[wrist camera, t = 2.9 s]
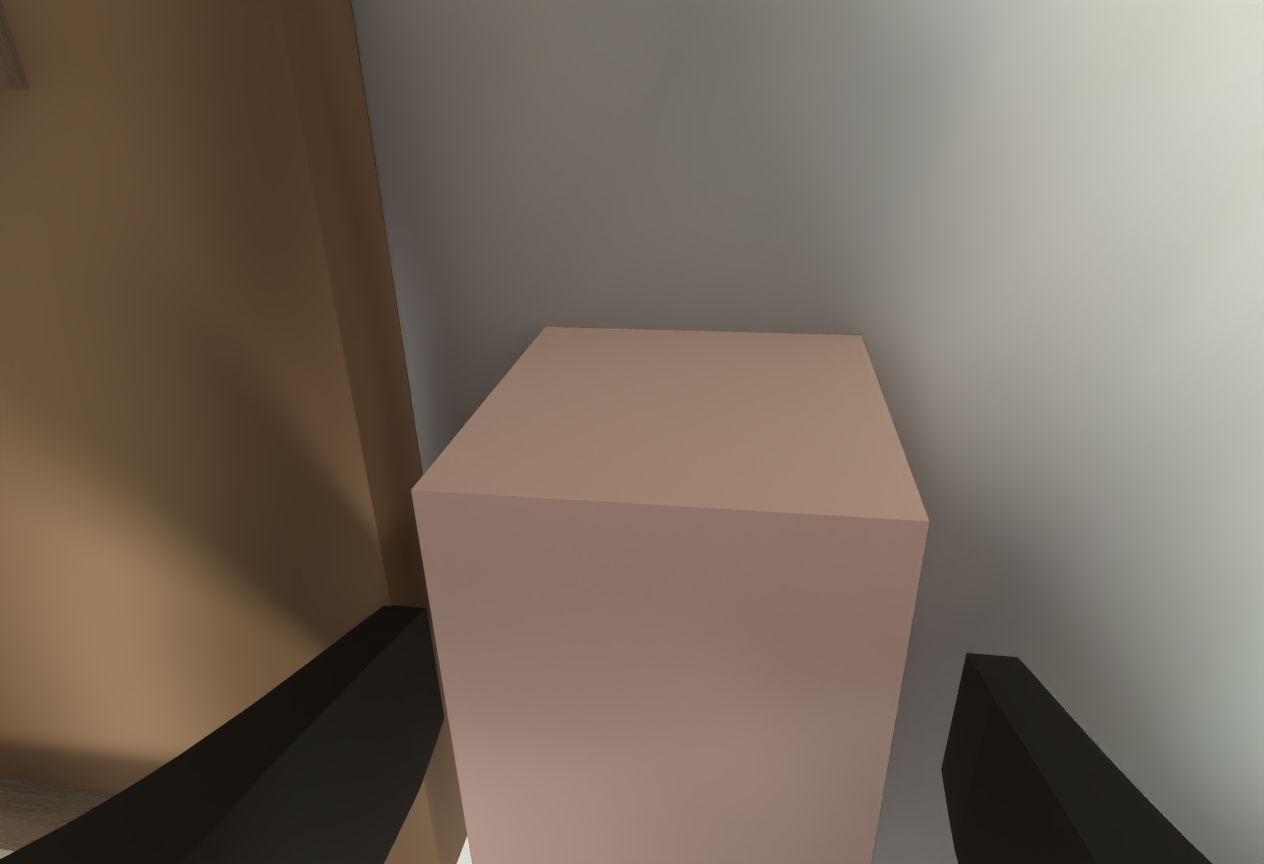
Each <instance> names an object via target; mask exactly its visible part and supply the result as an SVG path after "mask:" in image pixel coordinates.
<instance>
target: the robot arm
mask: <svg viewBox="0 0 1264 864" xmlns="http://www.w3.org/2000/svg"><path fill="white" fill-rule="evenodd" d="M444 718H445V717H444V711H443V705H442V699H441V693H440V687H439V681H438V675H437V668H436V662H435V656H434V650H433V644H432V638H431V632H430V626H429V620H428V613H427V608H421V607H409V606H397V605H392V606H383V607H381V608H380V609H379V610H377V611H376V612H374V613H373V614H371V615H370V616H369V617H367V618H366V619H365V620H363V621H362V622H361V623H359V624H358V625H357V626H355V627H354V628H353V629H351V630H350V631H349V632H348V633H346V634H345V635H344V636H342V637H341V638H340V639H338V640H337V641H336V642H335V643H333V644H332V645H331V646H329V647H328V648H327V649H325V650H324V651H323V652H322V653H320V654H319V655H318V656H316V657H315V658H314V659H312V660H311V661H310V662H308V663H307V664H306V665H304V666H303V667H302V668H300V669H299V670H298V671H296V672H295V673H294V674H292V675H291V676H290V677H288V678H287V679H286V680H284V681H283V682H282V683H280V684H279V685H278V686H276V687H275V688H274V689H272V690H271V691H270V692H268V693H267V694H266V695H264V696H263V697H262V698H260V699H259V700H258V701H256V702H255V703H254V704H252V705H251V706H249V707H248V708H246V709H245V710H244V711H242V712H241V713H239V714H238V715H236V716H235V717H233V718H232V719H230V720H229V721H228V722H226V723H225V724H223V725H222V726H220V727H219V728H217V729H216V730H215V731H213V732H212V733H210V734H209V735H207V736H206V737H204V738H203V739H202V740H200V741H199V742H197V743H196V744H194V745H193V746H191V747H190V748H189V749H187V750H186V751H184V752H183V753H181V754H180V755H178V756H177V757H175V758H174V759H172V760H171V761H169V762H168V763H166V764H165V765H163V766H162V767H160V768H158V769H157V770H155V771H154V772H152V773H151V774H149V775H147V776H146V777H144V778H143V779H141V780H139V781H138V782H136V783H135V784H133V785H131V786H130V787H128V788H126V789H125V790H123V791H121V792H120V793H118V794H116V795H115V796H113V797H111V798H110V799H108V800H106V801H105V802H103V803H101V804H99V805H98V806H96V807H94V808H93V809H91V810H89V811H88V812H86V813H84V814H83V815H81V816H79V817H77V818H76V819H74V820H72V821H70V822H69V823H67V824H65V825H63V826H62V827H60V828H58V829H56V830H54V831H52V832H50V833H48V834H46V835H45V836H43V837H41V838H39V839H37V840H35V841H33V842H31V843H29V844H28V845H26V846H24V847H22V848H20V849H18V850H16V851H14V852H13V853H11V854H9V855H7V856H5V857H3V858H1V859H0V864H384V863H385V861H386V859H387V857H388V855H389V853H390V850H391V848H392V846H393V844H394V842H395V840H396V838H397V836H398V834H399V832H400V830H401V828H402V826H403V824H404V821H405V819H406V817H407V815H408V813H409V811H410V809H411V807H412V805H413V803H414V801H415V798H416V796H417V794H418V792H419V790H420V788H421V785H422V782H423V779H424V776H425V774H426V771H427V768H428V765H429V763H430V760H431V757H432V754H433V751H434V748H435V745H436V742H437V739H438V736H439V733H440V730H441V727H442V724H443V721H444ZM941 770H942V777H943V783H944V789H945V796H946V802H947V809H948V815H949V820H950V826H951V832H952V837H953V843H954V849H955V853H956V857H957V860H958V864H1212V863H1211V862H1210V861H1209V860H1208V859H1207V858H1206V857H1205V856H1204V855H1203V854H1201V853H1200V852H1199V851H1198V850H1197V849H1196V848H1195V847H1194V846H1193V845H1192V844H1191V843H1190V842H1189V841H1188V840H1187V839H1186V838H1185V837H1184V836H1183V835H1182V834H1181V833H1180V832H1179V831H1178V830H1177V829H1176V828H1175V827H1174V826H1173V825H1172V824H1171V823H1170V822H1169V821H1168V820H1167V819H1166V818H1165V817H1164V816H1163V815H1162V814H1161V813H1160V812H1159V811H1158V810H1157V809H1156V808H1155V807H1154V806H1153V805H1152V804H1151V802H1150V801H1149V800H1148V799H1147V798H1146V797H1145V796H1144V795H1143V794H1142V793H1141V792H1140V791H1139V790H1138V789H1137V788H1136V787H1135V786H1134V785H1133V784H1132V783H1131V782H1130V780H1129V779H1128V778H1127V777H1126V776H1125V775H1124V774H1123V773H1122V772H1121V771H1120V770H1119V769H1118V768H1117V767H1116V766H1115V765H1114V763H1113V762H1112V761H1111V760H1110V759H1109V758H1108V757H1107V756H1106V755H1105V754H1104V753H1103V752H1102V750H1101V749H1100V748H1099V747H1098V746H1097V745H1096V744H1095V743H1094V742H1093V741H1092V739H1091V738H1090V737H1089V736H1088V735H1087V734H1086V733H1085V732H1084V731H1083V729H1082V728H1081V727H1080V726H1079V725H1078V724H1077V723H1076V722H1075V721H1074V720H1073V718H1072V717H1071V716H1070V715H1069V714H1068V713H1067V712H1066V711H1065V709H1064V708H1063V707H1062V706H1061V705H1060V704H1059V703H1058V702H1057V700H1056V699H1055V698H1054V697H1053V696H1052V695H1051V694H1050V693H1049V691H1048V690H1047V689H1046V688H1045V687H1044V686H1043V685H1042V684H1041V683H1040V681H1039V680H1038V679H1037V678H1036V677H1035V676H1034V675H1033V674H1032V673H1031V671H1030V670H1029V669H1028V668H1027V667H1026V666H1025V665H1024V664H1023V663H1022V661H1021V660H1020V659H1019V658H1018V657H1007V656H995V655H984V654H972V653H967V654H966V658H965V663H964V667H963V672H962V677H961V681H960V686H959V690H958V695H957V700H956V704H955V709H954V713H953V718H952V723H951V727H950V732H949V736H948V741H947V746H946V750H945V755H944V759H943V764H942V769H941Z"/></svg>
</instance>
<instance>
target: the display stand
mask: <svg viewBox="0 0 1264 864" xmlns="http://www.w3.org/2000/svg"><path fill="white" fill-rule="evenodd" d="M421 477H422V469H421V463H420V456H419V449H418V443H417V436H416V430H415V423H414V417H413V410H412V403H411V397H410V390H409V384H408V377H407V370H406V364H405V357H404V351H403V344H402V338H401V331H400V324H399V318H398V311H397V305H396V298H395V291H394V285H393V278H392V272H391V265H390V259H389V252H388V245H387V239H386V232H385V226H384V219H383V212H382V206H381V199H380V193H379V186H378V180H377V173H376V166H375V160H374V153H373V147H372V140H371V133H370V127H369V120H368V114H367V107H366V101H365V94H364V87H363V81H362V74H361V68H360V61H359V54H358V48H357V41H356V35H355V28H354V22H353V15H352V8H351V2H350V0H0V859H1V858H3V857H5V856H7V855H9V854H11V853H13V852H14V851H16V850H18V849H20V848H22V847H24V846H26V845H28V844H29V843H31V842H33V841H35V840H37V839H39V838H41V837H43V836H45V835H46V834H48V833H50V832H52V831H54V830H56V829H58V828H60V827H62V826H63V825H65V824H67V823H69V822H70V821H72V820H74V819H76V818H77V817H79V816H81V815H83V814H84V813H86V812H88V811H89V810H91V809H93V808H94V807H96V806H98V805H99V804H101V803H103V802H105V801H106V800H108V799H110V798H111V797H113V796H115V795H116V794H118V793H120V792H121V791H123V790H125V789H126V788H128V787H130V786H131V785H133V784H135V783H136V782H138V781H139V780H141V779H143V778H144V777H146V776H147V775H149V774H151V773H152V772H154V771H155V770H157V769H158V768H160V767H162V766H163V765H165V764H166V763H168V762H169V761H171V760H172V759H174V758H175V757H177V756H178V755H180V754H181V753H183V752H184V751H186V750H187V749H189V748H190V747H191V746H193V745H194V744H196V743H197V742H199V741H200V740H202V739H203V738H204V737H206V736H207V735H209V734H210V733H212V732H213V731H215V730H216V729H217V728H219V727H220V726H222V725H223V724H225V723H226V722H228V721H229V720H230V719H232V718H233V717H235V716H236V715H238V714H239V713H241V712H242V711H244V710H245V709H246V708H248V707H249V706H251V705H252V704H254V703H255V702H256V701H258V700H259V699H260V698H262V697H263V696H264V695H266V694H267V693H268V692H270V691H271V690H272V689H274V688H275V687H276V686H278V685H279V684H280V683H282V682H283V681H284V680H286V679H287V678H288V677H290V676H291V675H292V674H294V673H295V672H296V671H298V670H299V669H300V668H302V667H303V666H304V665H306V664H307V663H308V662H310V661H311V660H312V659H314V658H315V657H316V656H318V655H319V654H320V653H322V652H323V651H324V650H325V649H327V648H328V647H329V646H331V645H332V644H333V643H335V642H336V641H337V640H338V639H340V638H341V637H342V636H344V635H345V634H346V633H348V632H349V631H350V630H351V629H353V628H354V627H355V626H357V625H358V624H359V623H361V622H362V621H363V620H365V619H366V618H367V617H369V616H370V615H371V614H373V613H374V612H376V611H377V610H379V609H380V608H381V607H383V606H392V605H397V606H409V607H421V608H427V613H428V620H429V626H430V632H431V638H432V644H433V650H434V656H435V662H436V668H437V675H438V681H439V687H440V693H441V699H442V705H443V711H444V717H445V718H444V721H443V724H442V727H441V730H440V733H439V736H438V739H437V742H436V745H435V748H434V751H433V754H432V757H431V760H430V763H429V765H428V768H427V771H426V774H425V776H424V779H423V782H422V785H421V788H420V790H419V792H418V794H417V796H416V798H415V801H414V803H413V805H412V807H411V809H410V811H409V813H408V815H407V817H406V819H405V821H404V824H403V826H402V828H401V830H400V832H399V834H398V836H397V838H396V840H395V842H394V844H393V846H392V848H391V850H390V853H389V855H388V857H387V859H386V861H385V863H384V864H457V861H458V858H459V856H460V853H461V851H462V848H463V845H464V843H465V840H466V837H467V830H466V824H465V817H464V811H463V805H462V799H461V793H460V787H459V781H458V775H457V768H456V762H455V756H454V750H453V744H452V738H451V732H450V726H449V719H448V713H447V707H446V701H445V695H444V689H443V683H442V677H441V670H440V664H439V658H438V652H437V646H436V640H435V634H434V628H433V621H432V615H431V609H430V603H429V597H428V591H427V585H426V579H425V572H424V566H423V560H422V554H421V548H420V542H419V536H418V530H417V523H416V517H415V511H414V505H413V499H412V493H411V489H412V488H413V487H414V486H415V485H416V483H417V482H418V481H419V480H420V478H421Z"/></svg>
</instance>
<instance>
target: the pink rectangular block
mask: <svg viewBox="0 0 1264 864" xmlns="http://www.w3.org/2000/svg"><path fill="white" fill-rule="evenodd" d="M411 493H412V499H413V505H414V511H415V517H416V523H417V530H418V536H419V542H420V548H421V554H422V560H423V566H424V572H425V579H426V585H427V591H428V597H429V603H430V609H431V615H432V621H433V628H434V634H435V640H436V646H437V652H438V658H439V664H440V670H441V677H442V683H443V689H444V695H445V701H446V707H447V713H448V719H449V726H450V732H451V738H452V744H453V750H454V756H455V762H456V768H457V775H458V781H459V787H460V793H461V799H462V805H463V811H464V817H465V824H466V830H467V836H468V842H469V848H470V854H471V860H472V864H871V863H872V857H873V851H874V845H875V839H876V833H877V828H878V822H879V816H880V810H881V804H882V798H883V792H884V786H885V780H886V775H887V769H888V763H889V757H890V751H891V745H892V739H893V733H894V727H895V722H896V716H897V710H898V704H899V698H900V692H901V686H902V680H903V674H904V669H905V663H906V657H907V651H908V645H909V639H910V633H911V627H912V621H913V616H914V610H915V604H916V598H917V592H918V586H919V580H920V574H921V568H922V563H923V557H924V551H925V545H926V539H927V533H928V527H929V519H928V516H927V513H926V510H925V508H924V505H923V502H922V500H921V497H920V494H919V491H918V489H917V486H916V483H915V480H914V478H913V475H912V472H911V469H910V467H909V464H908V461H907V458H906V456H905V453H904V450H903V448H902V445H901V442H900V439H899V437H898V434H897V431H896V428H895V426H894V423H893V420H892V417H891V415H890V412H889V409H888V406H887V404H886V401H885V398H884V396H883V393H882V390H881V387H880V385H879V382H878V379H877V376H876V374H875V371H874V368H873V365H872V363H871V360H870V357H869V354H868V352H867V349H866V346H865V344H864V341H863V338H862V335H841V334H804V333H767V332H730V331H693V330H656V329H618V328H581V327H544V329H543V330H542V331H541V332H540V334H539V335H538V336H537V337H536V338H535V340H534V341H533V342H532V343H531V345H530V346H529V347H528V348H527V349H526V351H525V352H524V353H523V354H522V355H521V357H520V358H519V359H518V360H517V362H516V363H515V364H514V365H513V366H512V368H511V369H510V370H509V371H508V373H507V374H506V375H505V376H504V377H503V379H502V380H501V381H500V382H499V384H498V385H497V386H496V387H495V388H494V390H493V391H492V392H491V393H490V394H489V396H488V397H487V398H486V399H485V401H484V402H483V403H482V404H481V405H480V407H479V408H478V409H477V410H476V412H475V413H474V414H473V415H472V416H471V418H470V419H469V420H468V421H467V422H466V424H465V425H464V426H463V427H462V429H461V430H460V431H459V432H458V433H457V435H456V436H455V437H454V438H453V440H452V441H451V442H450V443H449V444H448V446H447V447H446V448H445V449H444V450H443V452H442V453H441V454H440V455H439V457H438V458H437V459H436V460H435V461H434V463H433V464H432V465H431V466H430V468H429V469H428V470H427V471H426V472H425V474H424V475H423V476H422V477H421V478H420V480H419V481H418V482H417V483H416V485H415V486H414V487H413V488H412V489H411Z"/></svg>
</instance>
